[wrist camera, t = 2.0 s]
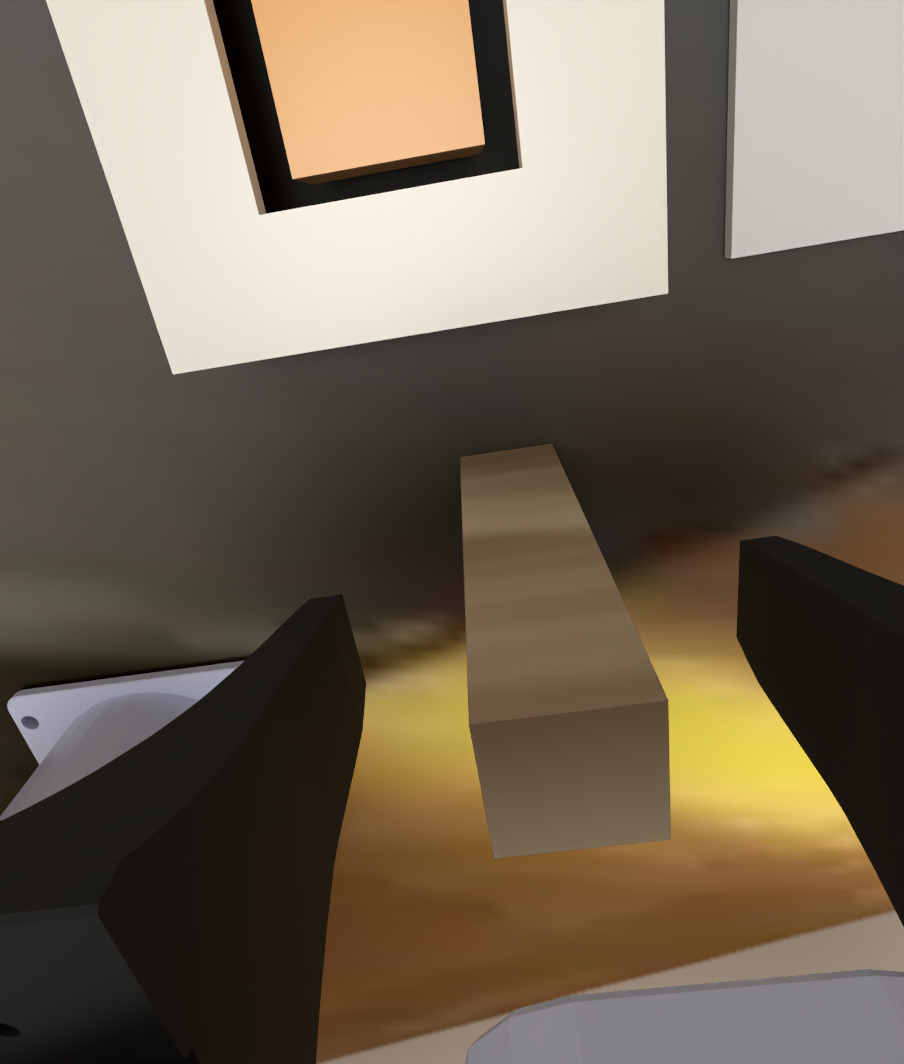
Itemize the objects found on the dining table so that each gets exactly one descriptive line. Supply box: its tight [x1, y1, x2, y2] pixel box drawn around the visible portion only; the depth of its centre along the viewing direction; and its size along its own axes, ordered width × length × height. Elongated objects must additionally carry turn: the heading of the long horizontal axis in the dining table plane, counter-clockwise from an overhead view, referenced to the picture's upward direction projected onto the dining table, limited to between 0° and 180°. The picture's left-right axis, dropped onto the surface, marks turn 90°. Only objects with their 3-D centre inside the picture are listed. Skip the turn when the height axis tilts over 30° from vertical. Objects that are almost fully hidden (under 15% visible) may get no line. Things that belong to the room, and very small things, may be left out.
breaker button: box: [251, 0, 485, 185], centre depth 11 cm, size 3×3×2 cm
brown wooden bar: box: [460, 444, 671, 858], centre depth 13 cm, size 2×2×10 cm
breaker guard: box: [46, 0, 668, 374], centre depth 12 cm, size 9×9×4 cm
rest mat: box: [725, 0, 904, 259], centre depth 13 cm, size 8×5×1 cm, turn 9°
